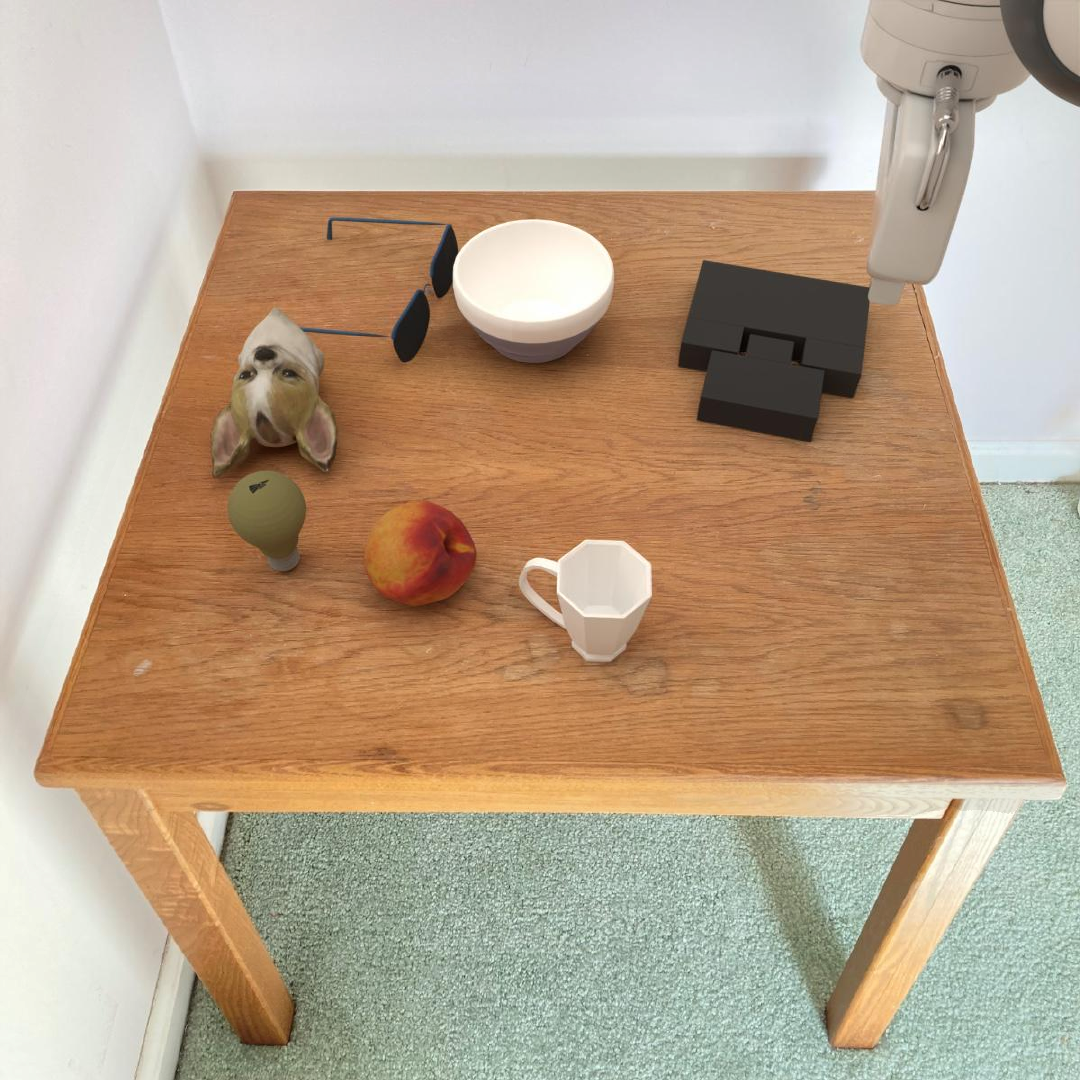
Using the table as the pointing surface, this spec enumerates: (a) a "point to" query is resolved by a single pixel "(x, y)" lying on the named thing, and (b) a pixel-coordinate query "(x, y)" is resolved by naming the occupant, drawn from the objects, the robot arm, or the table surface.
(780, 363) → the black stepped block
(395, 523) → the fruit
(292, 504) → the light bulb
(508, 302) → the bowl
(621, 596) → the cup
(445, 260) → the sunglasses
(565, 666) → the table surface
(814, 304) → the base pad
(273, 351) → the ceramic sculpture
